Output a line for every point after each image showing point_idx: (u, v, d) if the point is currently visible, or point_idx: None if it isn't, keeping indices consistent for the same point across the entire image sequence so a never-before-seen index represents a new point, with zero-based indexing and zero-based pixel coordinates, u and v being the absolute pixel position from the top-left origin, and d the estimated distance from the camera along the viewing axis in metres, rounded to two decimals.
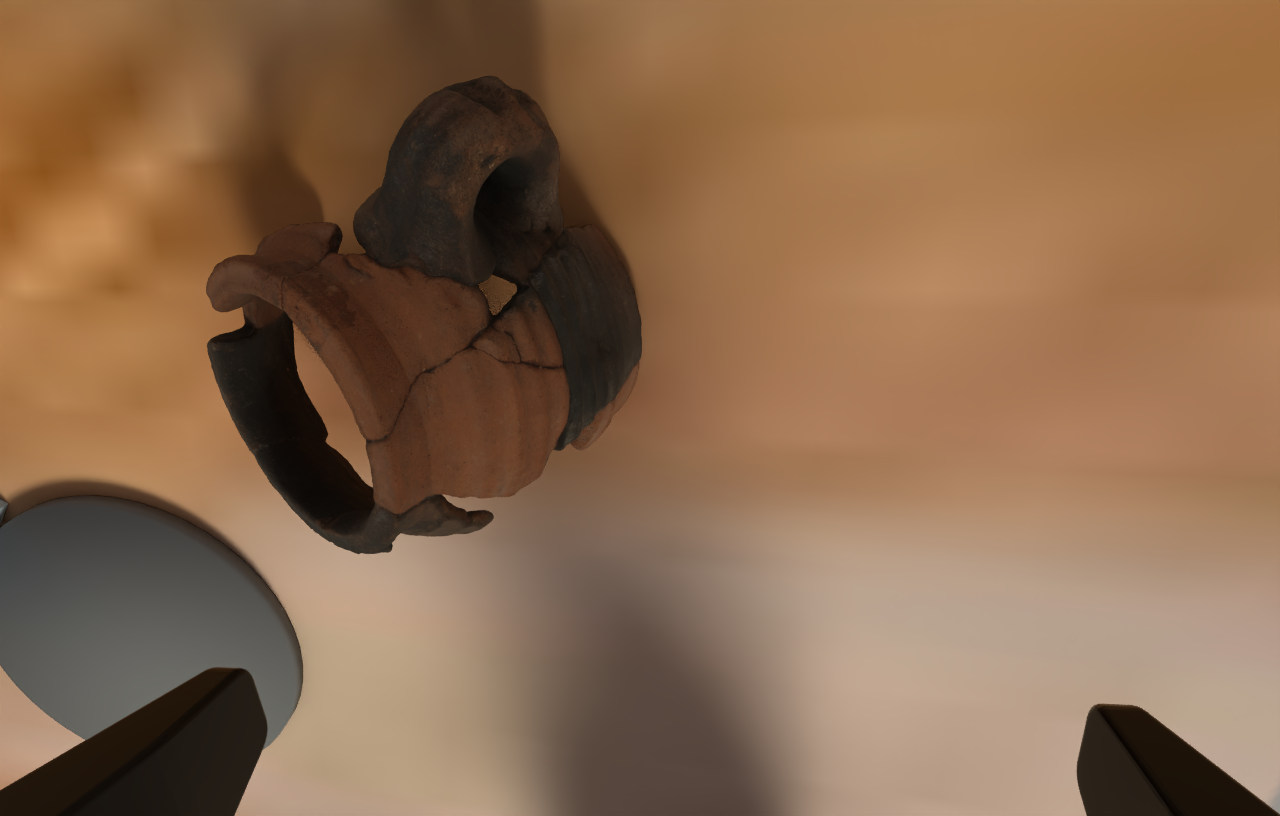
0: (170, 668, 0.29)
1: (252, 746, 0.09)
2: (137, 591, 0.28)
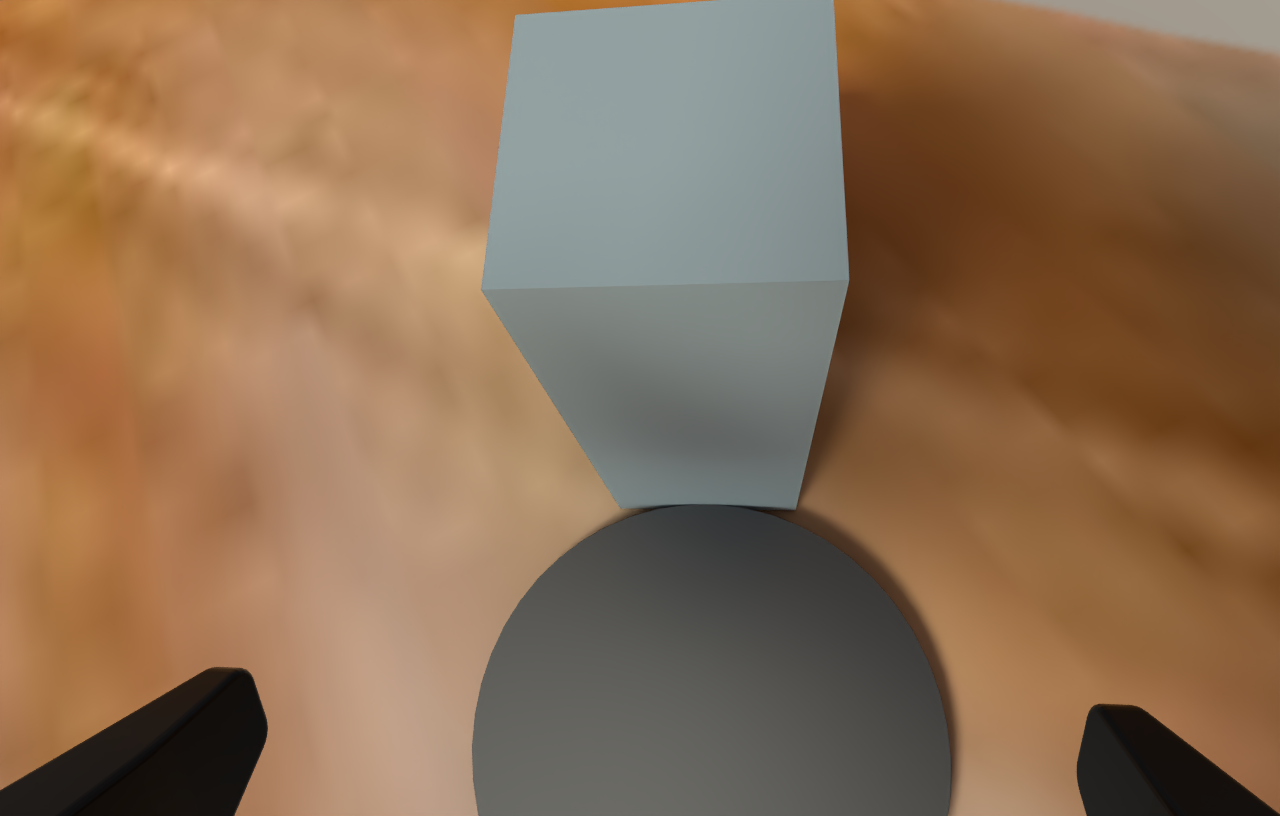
0: (701, 799, 0.20)
1: (252, 746, 0.09)
2: (808, 711, 0.20)
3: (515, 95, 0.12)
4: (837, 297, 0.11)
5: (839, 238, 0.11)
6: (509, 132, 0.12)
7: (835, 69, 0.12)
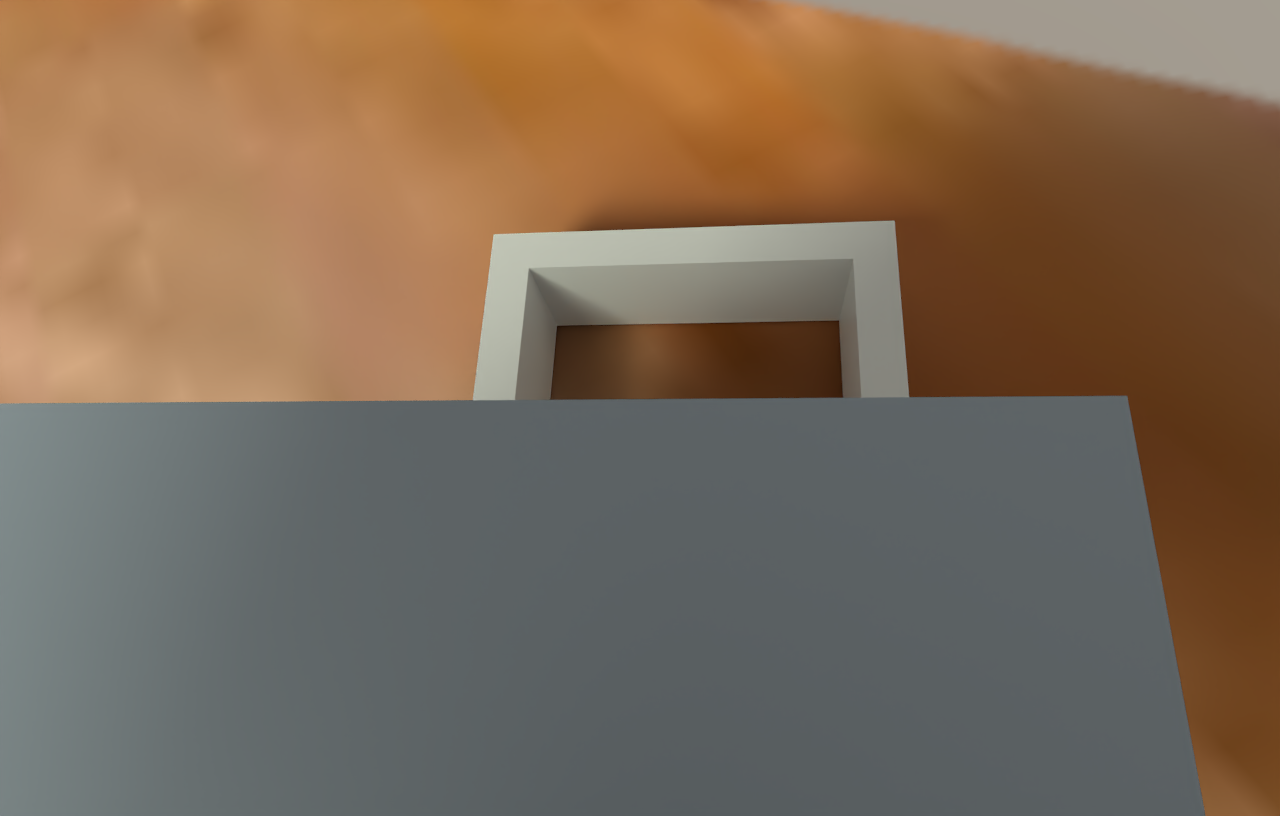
0: None
1: None
2: None
3: None
4: None
5: None
6: None
7: None
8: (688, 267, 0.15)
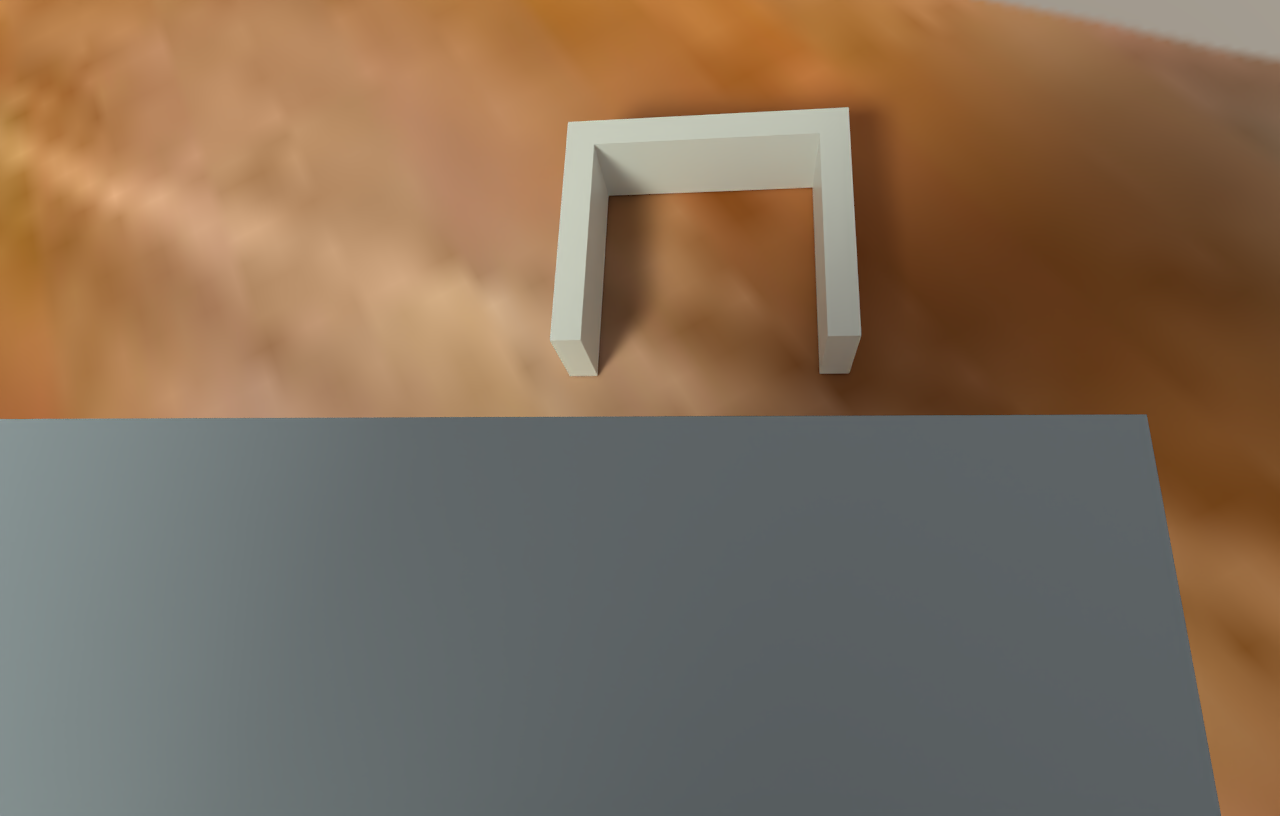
0: None
1: None
2: None
3: None
4: None
5: None
6: None
7: None
8: (705, 142, 0.22)
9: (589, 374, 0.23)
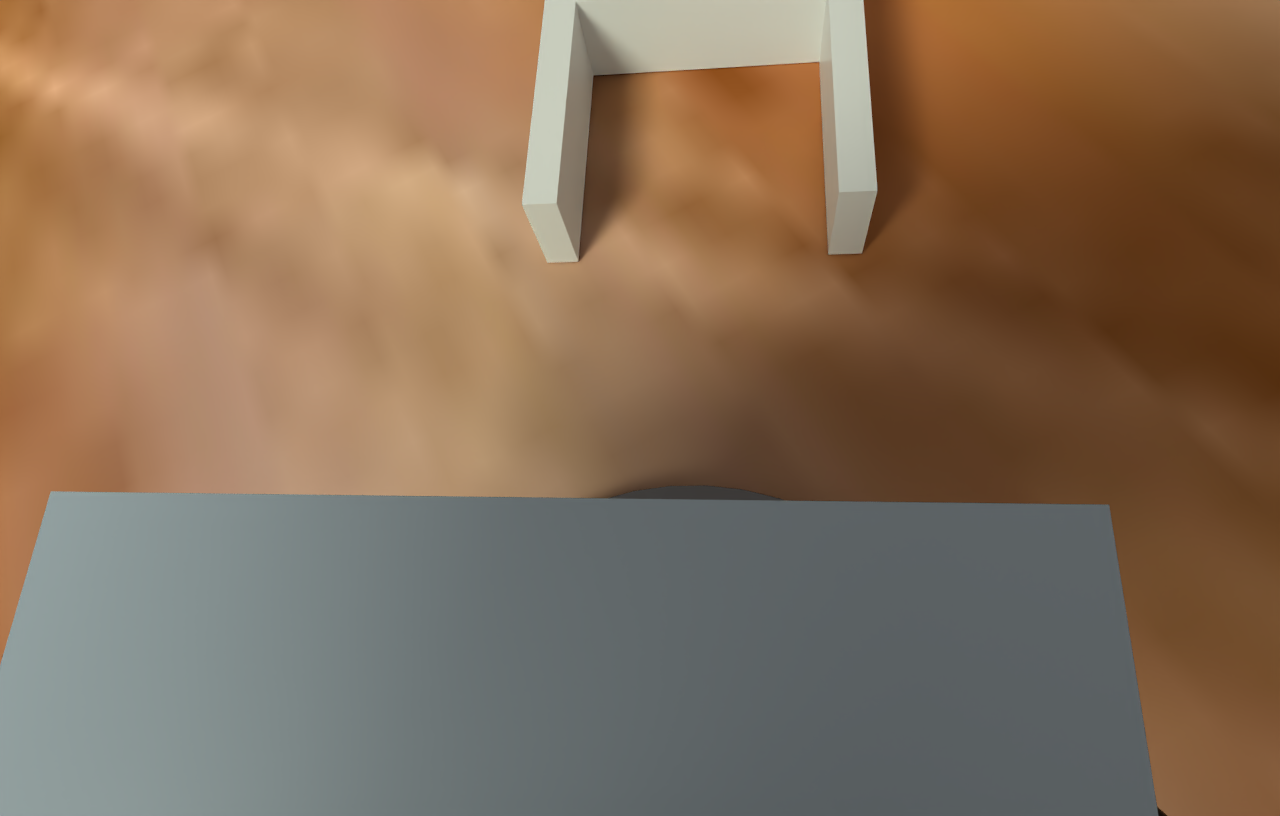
0: None
1: None
2: None
3: None
4: None
5: None
6: None
7: None
8: None
9: (569, 259, 0.20)
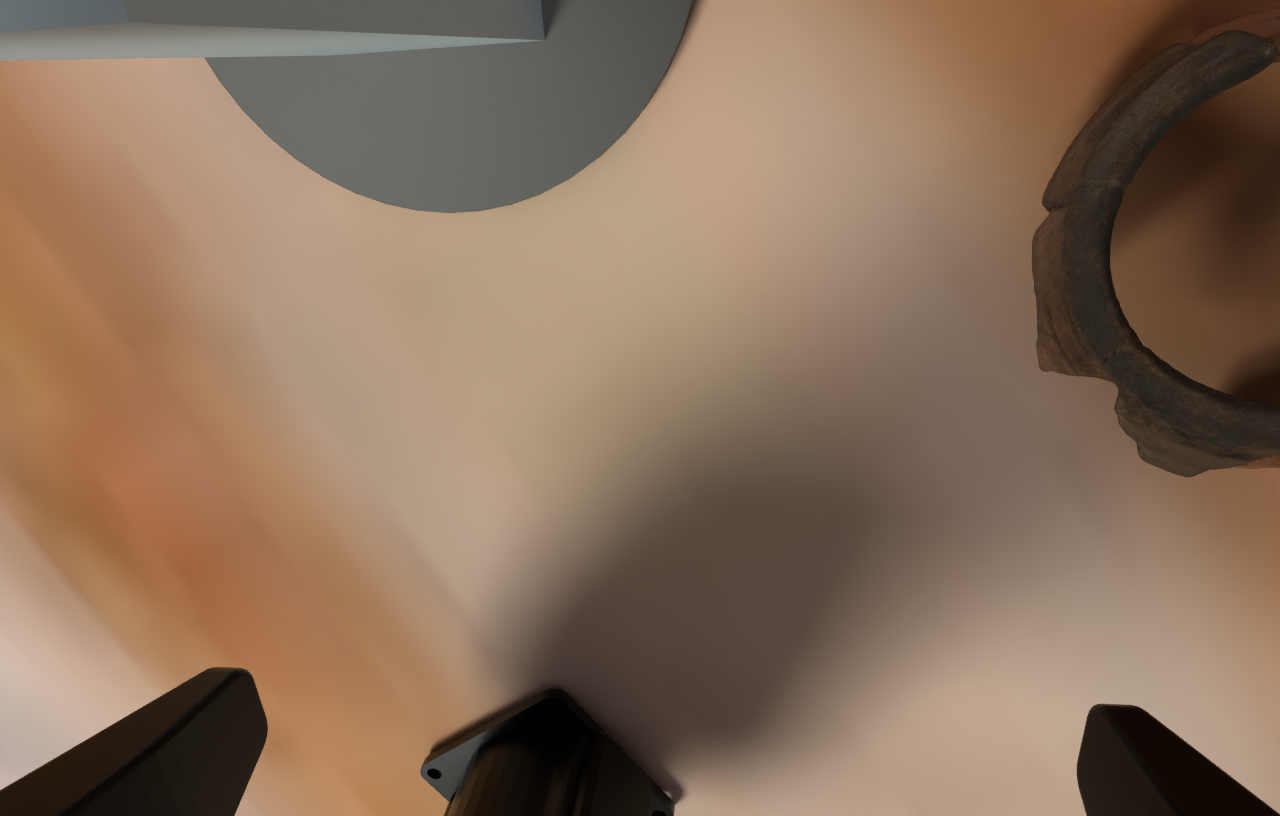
0: None
1: (252, 746, 0.09)
2: None
3: None
4: (159, 26, 0.06)
5: None
6: None
7: None
8: None
9: None
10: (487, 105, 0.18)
